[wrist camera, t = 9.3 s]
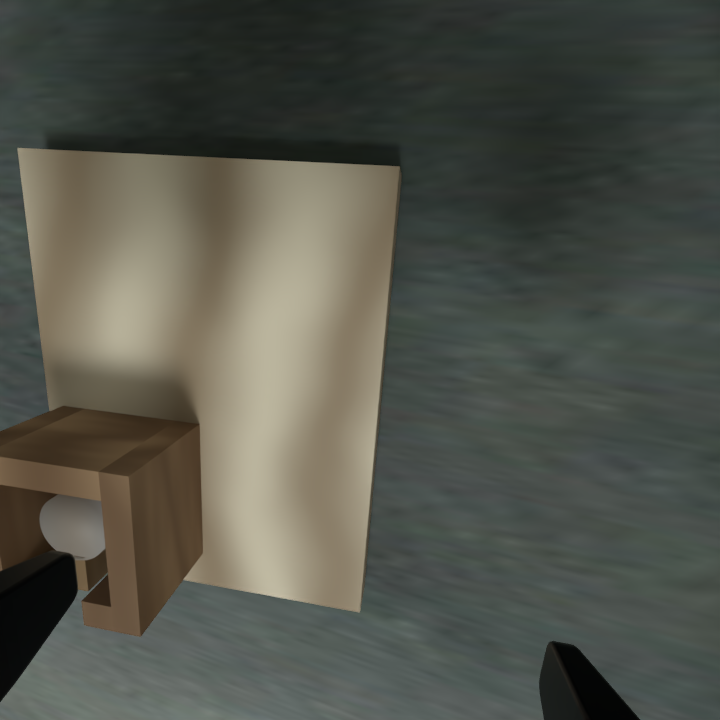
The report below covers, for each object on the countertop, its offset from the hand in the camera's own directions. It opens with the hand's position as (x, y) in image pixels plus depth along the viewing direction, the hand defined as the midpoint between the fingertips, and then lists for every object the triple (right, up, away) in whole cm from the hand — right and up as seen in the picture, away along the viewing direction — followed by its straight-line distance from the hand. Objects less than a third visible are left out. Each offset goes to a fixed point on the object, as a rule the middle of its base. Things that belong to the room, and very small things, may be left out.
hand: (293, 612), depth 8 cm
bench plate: (-5, +3, +11) cm, 13 cm away
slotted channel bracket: (-9, -1, +12) cm, 15 cm away
